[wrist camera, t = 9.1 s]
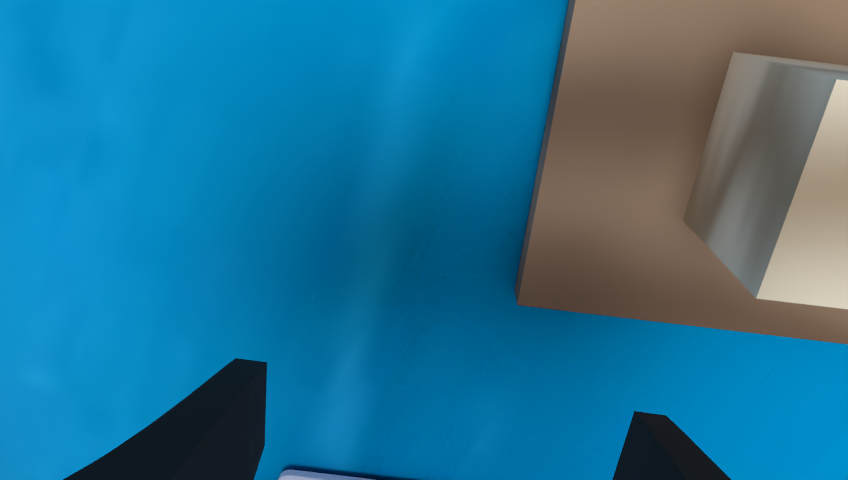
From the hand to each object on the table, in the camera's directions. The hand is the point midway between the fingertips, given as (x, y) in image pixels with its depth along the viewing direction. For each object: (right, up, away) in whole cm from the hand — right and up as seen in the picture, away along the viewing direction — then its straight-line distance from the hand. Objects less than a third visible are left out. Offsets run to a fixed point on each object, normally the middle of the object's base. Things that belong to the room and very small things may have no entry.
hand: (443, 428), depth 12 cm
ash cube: (+10, +6, +6) cm, 13 cm away
